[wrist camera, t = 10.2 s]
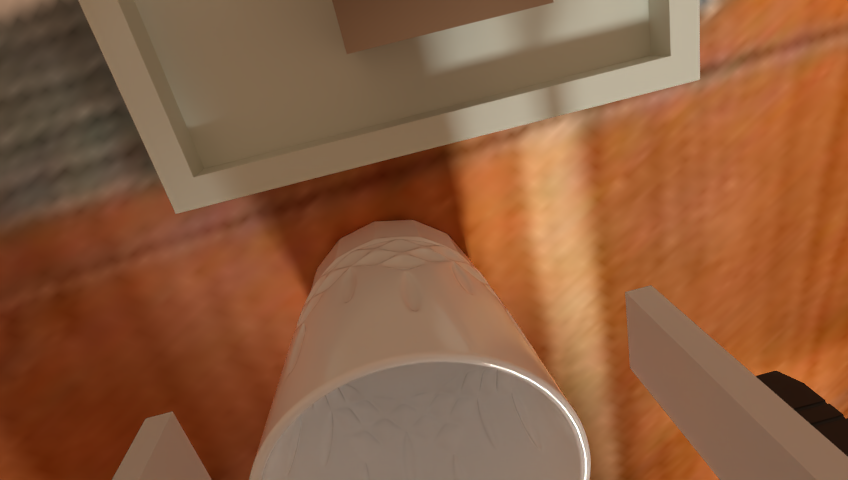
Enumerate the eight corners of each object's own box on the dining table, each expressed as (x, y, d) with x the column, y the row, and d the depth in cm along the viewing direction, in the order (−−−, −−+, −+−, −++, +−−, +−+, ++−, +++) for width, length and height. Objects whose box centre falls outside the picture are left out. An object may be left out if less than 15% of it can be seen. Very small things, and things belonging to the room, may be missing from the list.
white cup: (374, 163, 18) (392, 284, 9) (525, 272, 21) (658, 453, 12) (260, 316, 20) (176, 547, 11) (412, 400, 23) (449, 646, 13)
